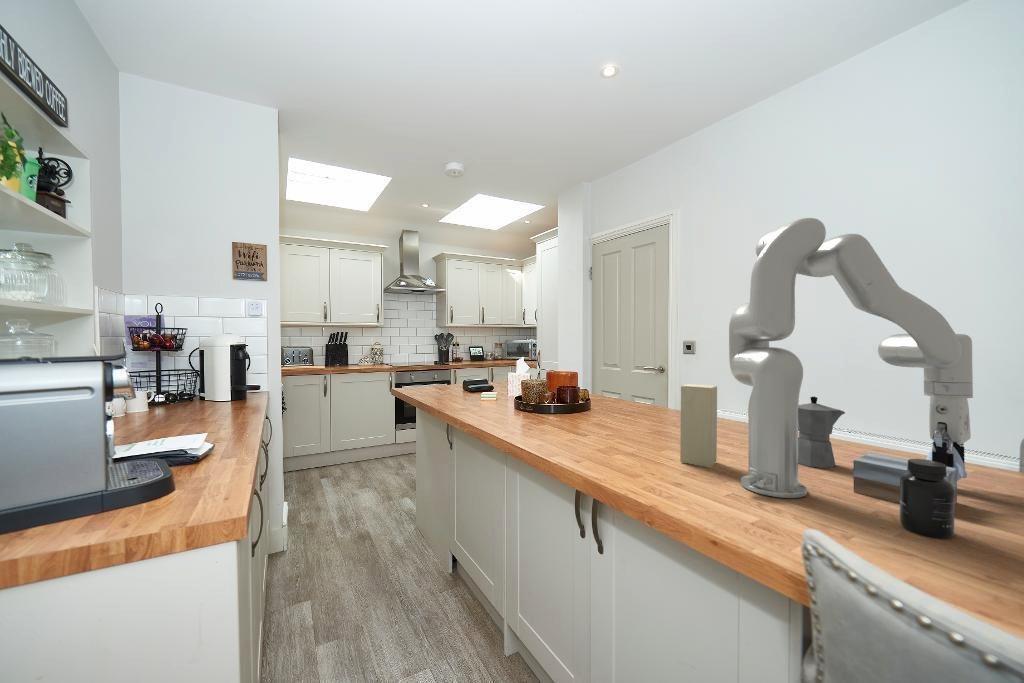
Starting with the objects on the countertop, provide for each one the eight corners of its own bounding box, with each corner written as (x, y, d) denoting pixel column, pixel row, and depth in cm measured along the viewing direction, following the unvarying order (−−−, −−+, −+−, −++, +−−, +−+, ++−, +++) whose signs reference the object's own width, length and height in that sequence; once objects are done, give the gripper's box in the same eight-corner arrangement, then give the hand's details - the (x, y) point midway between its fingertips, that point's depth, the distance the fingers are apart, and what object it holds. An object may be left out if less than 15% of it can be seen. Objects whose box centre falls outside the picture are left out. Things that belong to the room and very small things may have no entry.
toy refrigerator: (718, 461, 115) (717, 385, 114) (711, 468, 109) (711, 387, 109) (687, 456, 120) (687, 383, 119) (680, 462, 114) (679, 385, 114)
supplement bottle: (889, 522, 76) (888, 457, 76) (923, 521, 77) (923, 456, 77) (929, 541, 69) (929, 468, 69) (966, 539, 70) (966, 467, 70)
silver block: (944, 514, 80) (944, 477, 80) (853, 492, 91) (853, 460, 91) (956, 502, 85) (956, 468, 85) (870, 483, 97) (869, 453, 97)
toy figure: (983, 498, 88) (983, 440, 88) (949, 496, 89) (949, 439, 89) (940, 481, 98) (940, 429, 98) (910, 479, 99) (910, 429, 99)
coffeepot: (847, 464, 111) (847, 397, 111) (842, 472, 104) (842, 401, 104) (780, 453, 122) (780, 392, 122) (771, 460, 116) (771, 395, 115)
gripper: (963, 394, 85) (964, 479, 85) (981, 387, 94) (982, 463, 94) (912, 391, 91) (914, 469, 91) (934, 385, 101) (935, 456, 101)
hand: (948, 466), depth 93 cm, fingers open, 9 cm apart
